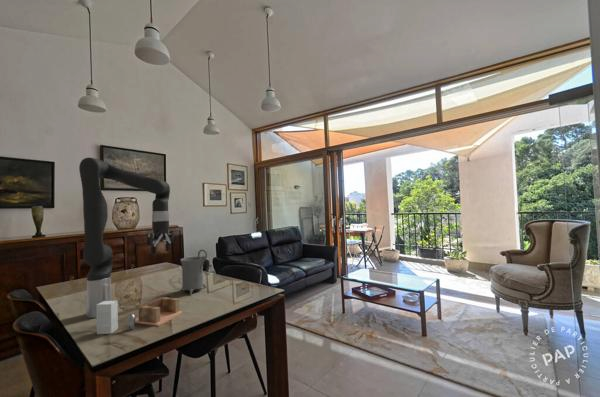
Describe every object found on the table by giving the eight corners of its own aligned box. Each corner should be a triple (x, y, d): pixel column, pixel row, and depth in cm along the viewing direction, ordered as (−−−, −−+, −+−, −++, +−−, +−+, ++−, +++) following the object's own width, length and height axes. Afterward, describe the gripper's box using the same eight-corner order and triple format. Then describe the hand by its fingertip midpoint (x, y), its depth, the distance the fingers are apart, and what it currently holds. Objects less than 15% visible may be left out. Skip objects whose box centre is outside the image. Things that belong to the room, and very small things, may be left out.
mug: (172, 294, 153) (171, 251, 154) (189, 286, 168) (188, 247, 168) (199, 296, 148) (198, 251, 149) (215, 288, 162) (214, 247, 163)
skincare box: (118, 329, 110) (118, 300, 110) (111, 334, 106) (111, 304, 106) (103, 329, 110) (103, 300, 110) (96, 334, 106) (95, 304, 106)
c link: (138, 320, 116) (138, 306, 116) (162, 309, 128) (162, 296, 128) (156, 323, 113) (156, 308, 113) (179, 311, 125) (178, 298, 125)
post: (126, 330, 109) (126, 315, 109) (132, 327, 111) (131, 313, 111) (131, 330, 108) (130, 316, 108) (136, 328, 110) (136, 313, 110)
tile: (132, 322, 116) (132, 320, 116) (158, 310, 130) (158, 308, 130) (158, 326, 112) (158, 324, 112) (182, 312, 125) (182, 311, 125)
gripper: (165, 219, 139) (166, 250, 139) (142, 221, 126) (142, 255, 125) (177, 219, 137) (177, 250, 136) (154, 221, 123) (155, 255, 123)
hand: (161, 252), depth 131 cm, fingers open, 8 cm apart
